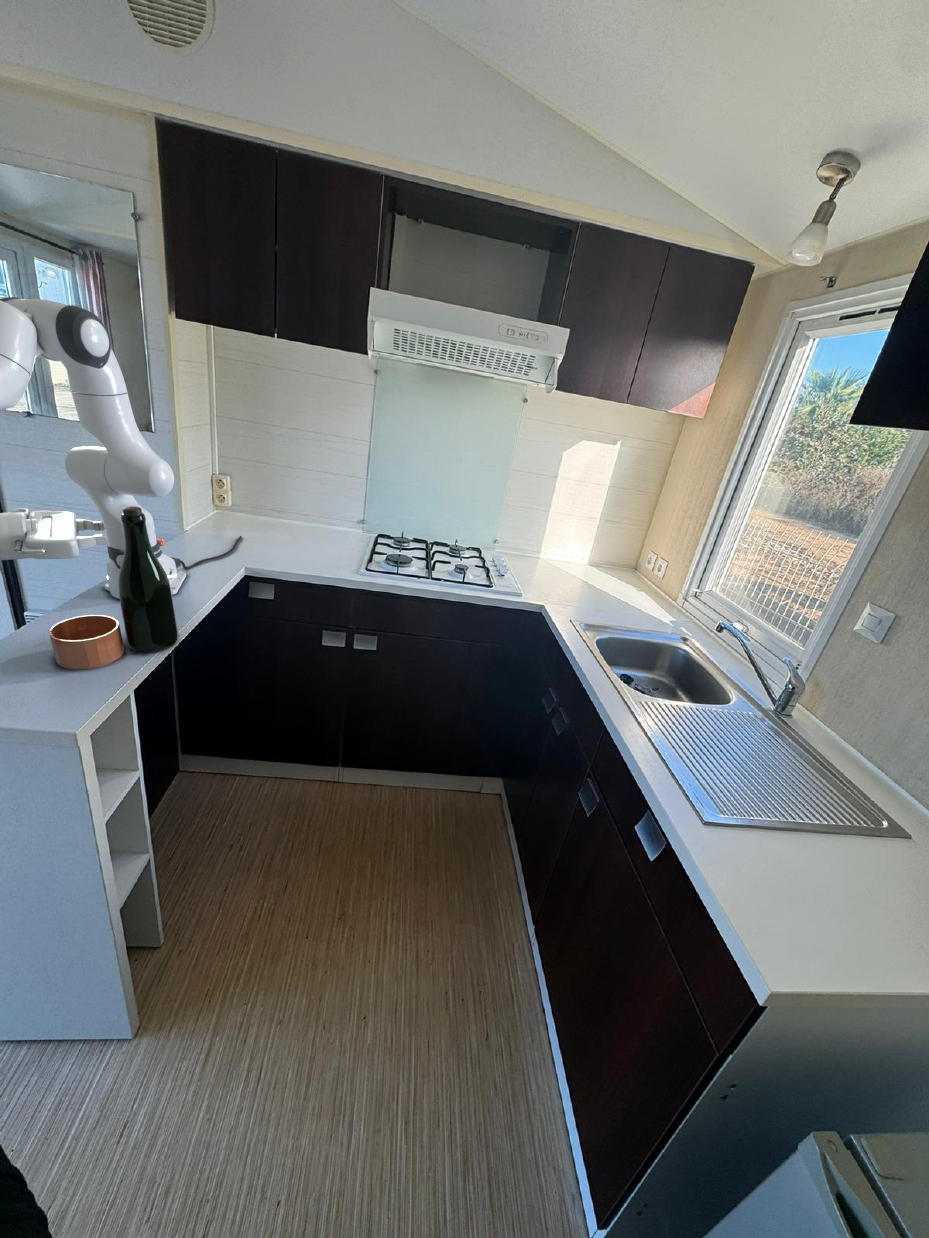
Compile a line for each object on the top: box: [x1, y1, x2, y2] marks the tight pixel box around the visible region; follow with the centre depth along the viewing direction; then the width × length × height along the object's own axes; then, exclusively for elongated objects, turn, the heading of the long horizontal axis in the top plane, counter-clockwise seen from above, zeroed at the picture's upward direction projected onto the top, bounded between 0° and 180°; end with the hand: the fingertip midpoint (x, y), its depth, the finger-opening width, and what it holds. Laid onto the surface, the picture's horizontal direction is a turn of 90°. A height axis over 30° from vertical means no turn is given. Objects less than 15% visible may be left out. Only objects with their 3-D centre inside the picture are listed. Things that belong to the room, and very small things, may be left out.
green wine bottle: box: [118, 507, 179, 653], centre depth 109 cm, size 10×10×33 cm
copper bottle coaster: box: [48, 614, 125, 671], centre depth 107 cm, size 12×12×7 cm
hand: (105, 532), depth 101 cm, fingers open, 8 cm apart
